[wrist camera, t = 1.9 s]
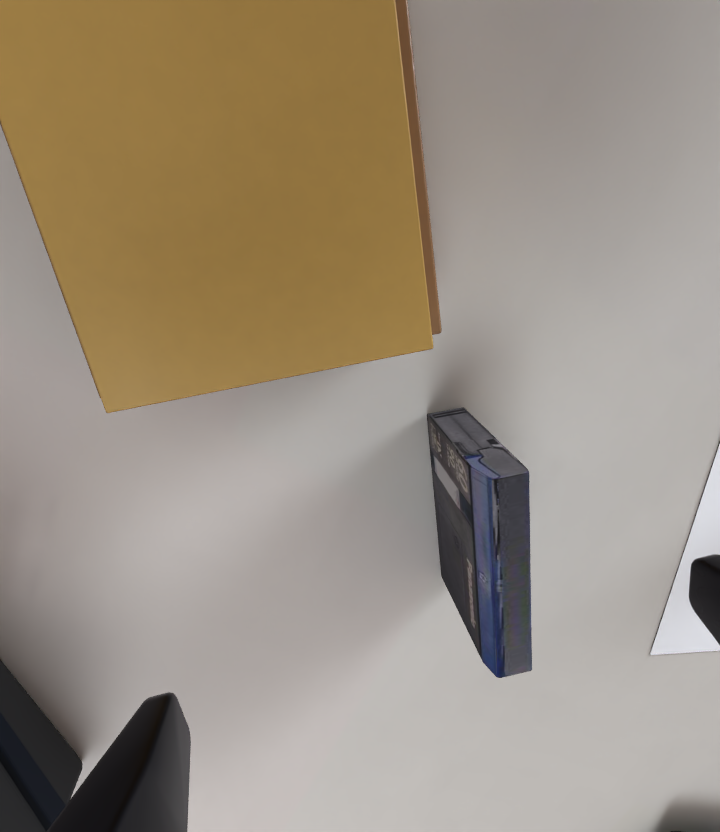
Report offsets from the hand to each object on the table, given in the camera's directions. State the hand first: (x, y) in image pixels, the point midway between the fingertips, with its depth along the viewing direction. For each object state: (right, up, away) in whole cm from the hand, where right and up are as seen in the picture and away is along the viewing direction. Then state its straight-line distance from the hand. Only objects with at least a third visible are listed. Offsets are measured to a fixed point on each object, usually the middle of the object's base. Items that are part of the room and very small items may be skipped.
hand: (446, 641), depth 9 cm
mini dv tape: (+3, 0, +14) cm, 15 cm away
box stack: (-5, +11, +9) cm, 15 cm away
